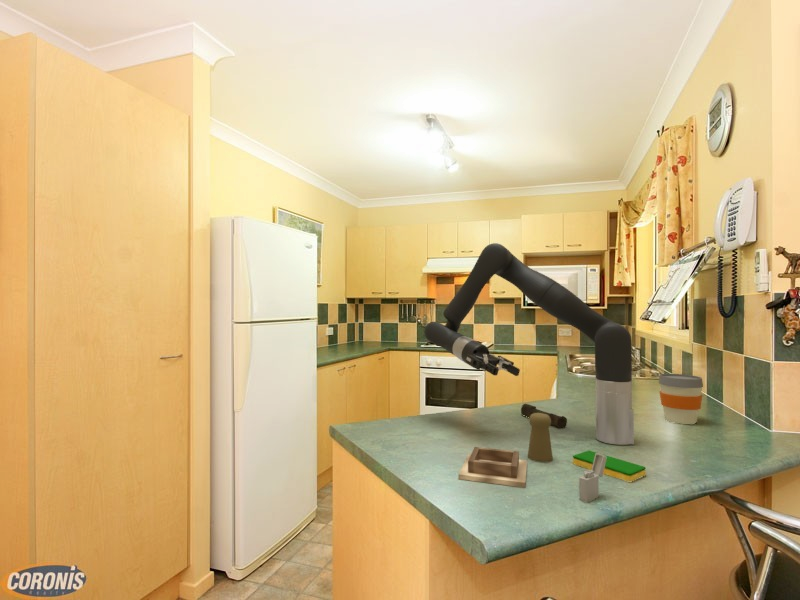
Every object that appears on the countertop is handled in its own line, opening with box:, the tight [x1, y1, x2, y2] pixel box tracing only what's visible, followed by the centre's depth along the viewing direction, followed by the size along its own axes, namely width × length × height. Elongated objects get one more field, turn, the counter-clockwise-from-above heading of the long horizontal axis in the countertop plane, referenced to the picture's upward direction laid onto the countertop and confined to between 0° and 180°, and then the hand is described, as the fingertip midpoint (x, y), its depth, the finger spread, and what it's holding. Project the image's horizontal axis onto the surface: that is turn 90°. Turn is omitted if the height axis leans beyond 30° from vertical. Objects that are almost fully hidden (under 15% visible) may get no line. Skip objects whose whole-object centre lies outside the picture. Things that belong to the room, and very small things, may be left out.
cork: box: [527, 413, 554, 463], centre depth 108 cm, size 6×6×11 cm
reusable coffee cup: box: [658, 373, 704, 425], centre depth 144 cm, size 13×13×15 cm
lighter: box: [578, 452, 607, 503], centre depth 85 cm, size 7×2×8 cm, turn 124°
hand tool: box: [520, 403, 568, 430], centre depth 143 cm, size 19×4×5 cm, turn 23°
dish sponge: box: [572, 450, 647, 482], centre depth 100 cm, size 7×14×2 cm, turn 35°
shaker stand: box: [458, 446, 528, 488], centre depth 98 cm, size 14×14×4 cm
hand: (508, 372), depth 119 cm, fingers open, 8 cm apart
